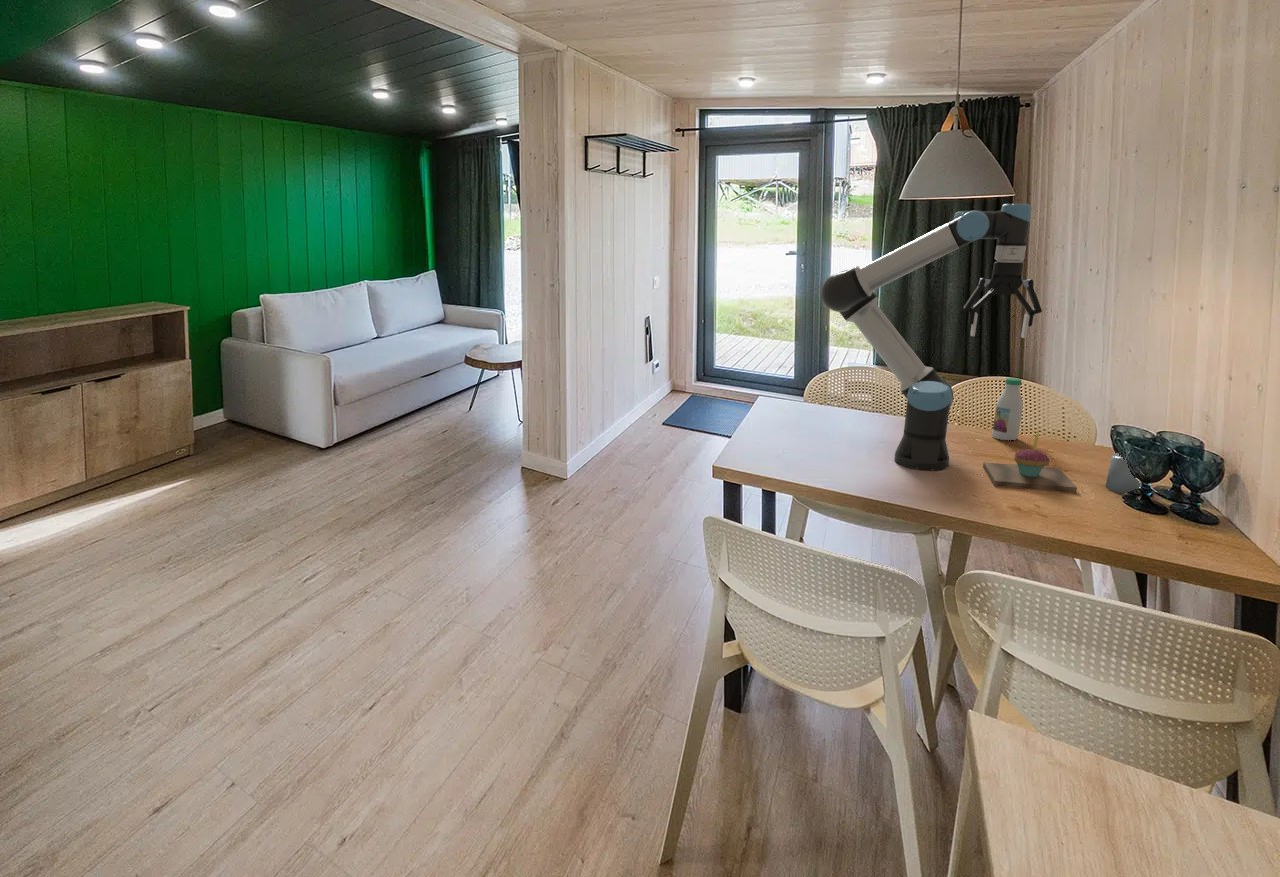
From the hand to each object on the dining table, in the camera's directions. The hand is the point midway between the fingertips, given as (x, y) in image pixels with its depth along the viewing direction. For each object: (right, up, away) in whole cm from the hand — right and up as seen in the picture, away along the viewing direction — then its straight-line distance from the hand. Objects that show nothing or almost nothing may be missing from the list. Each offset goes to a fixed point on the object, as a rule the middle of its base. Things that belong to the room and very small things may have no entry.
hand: (997, 336), depth 209 cm
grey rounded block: (+26, -43, -15) cm, 53 cm away
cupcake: (+5, -40, -8) cm, 41 cm away
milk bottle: (+17, -30, +30) cm, 45 cm away
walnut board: (+4, -41, -8) cm, 42 cm away
